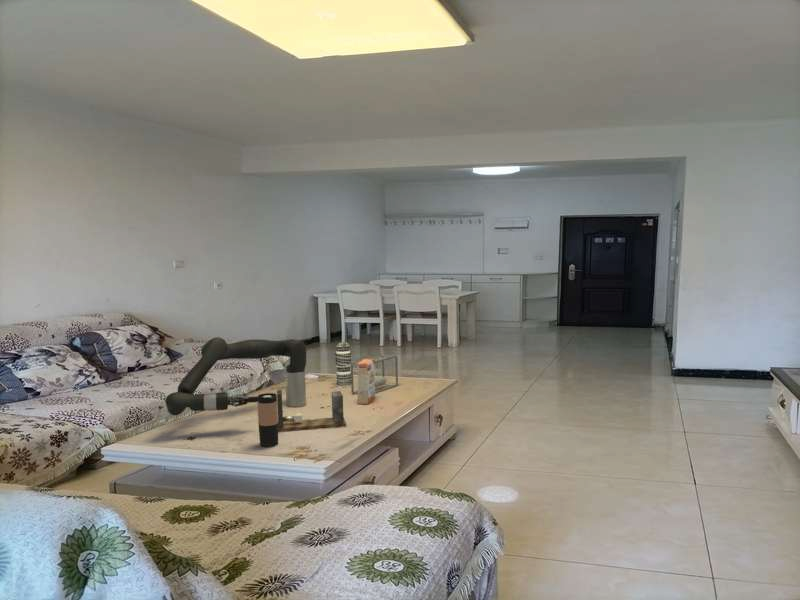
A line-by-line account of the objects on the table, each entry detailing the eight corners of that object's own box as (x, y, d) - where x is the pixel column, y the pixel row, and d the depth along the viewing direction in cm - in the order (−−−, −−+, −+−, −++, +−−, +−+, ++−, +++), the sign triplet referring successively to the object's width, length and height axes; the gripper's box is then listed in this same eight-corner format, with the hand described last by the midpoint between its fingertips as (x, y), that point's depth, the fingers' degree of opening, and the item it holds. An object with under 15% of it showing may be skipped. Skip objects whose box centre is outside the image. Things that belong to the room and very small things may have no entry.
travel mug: (260, 442, 246) (258, 393, 244) (279, 441, 246) (277, 392, 245) (258, 448, 238) (255, 397, 237) (277, 447, 239) (275, 397, 237)
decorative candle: (345, 388, 341) (344, 344, 339) (332, 387, 346) (331, 343, 344) (355, 385, 348) (354, 342, 346) (342, 383, 353) (341, 341, 351)
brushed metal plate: (278, 426, 260) (277, 394, 259) (278, 421, 269) (277, 390, 268) (294, 425, 261) (293, 393, 260) (294, 420, 270) (293, 389, 269)
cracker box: (369, 404, 302) (368, 363, 301) (357, 404, 303) (356, 363, 302) (376, 398, 316) (374, 358, 314) (364, 398, 317) (363, 358, 316)
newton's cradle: (366, 396, 320) (365, 363, 318) (351, 394, 325) (350, 362, 324) (398, 385, 345) (397, 354, 343) (383, 384, 350) (382, 353, 349)
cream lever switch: (295, 422, 264) (295, 415, 264) (294, 418, 271) (294, 411, 271) (302, 421, 265) (302, 415, 265) (301, 417, 272) (301, 411, 272)
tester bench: (271, 432, 259) (270, 401, 258) (271, 425, 269) (270, 395, 268) (346, 426, 265) (345, 396, 264) (343, 419, 276) (342, 390, 275)
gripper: (214, 396, 252) (256, 393, 255) (217, 389, 265) (257, 387, 268) (214, 414, 252) (257, 411, 255) (217, 406, 265) (258, 404, 268)
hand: (257, 399), depth 262 cm, fingers closed
